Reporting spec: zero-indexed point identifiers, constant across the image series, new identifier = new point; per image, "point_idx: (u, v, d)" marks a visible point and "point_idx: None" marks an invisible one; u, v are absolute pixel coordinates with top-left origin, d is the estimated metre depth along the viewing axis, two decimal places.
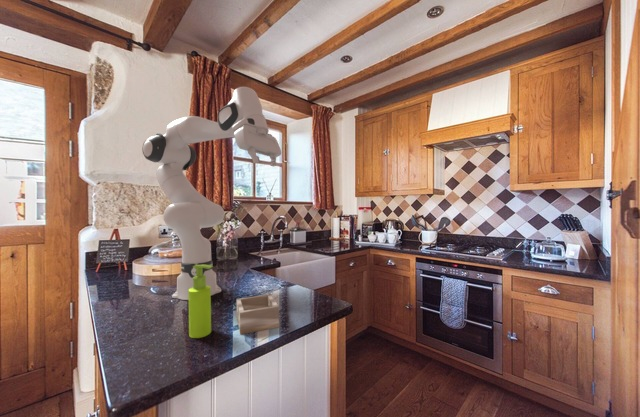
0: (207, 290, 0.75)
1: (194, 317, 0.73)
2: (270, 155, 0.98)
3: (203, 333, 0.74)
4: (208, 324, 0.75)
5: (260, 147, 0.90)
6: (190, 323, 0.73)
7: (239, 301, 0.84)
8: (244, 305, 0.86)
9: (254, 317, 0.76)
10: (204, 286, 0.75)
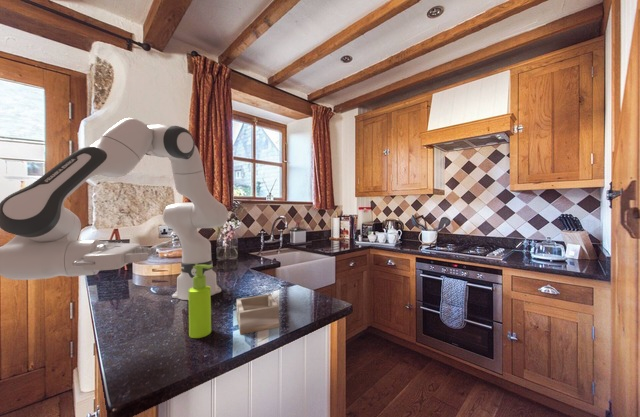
0: (207, 290, 0.75)
1: (194, 317, 0.73)
2: None
3: (203, 333, 0.74)
4: (208, 324, 0.75)
5: None
6: (190, 323, 0.73)
7: (239, 301, 0.84)
8: (244, 305, 0.86)
9: (254, 317, 0.76)
10: (204, 286, 0.75)
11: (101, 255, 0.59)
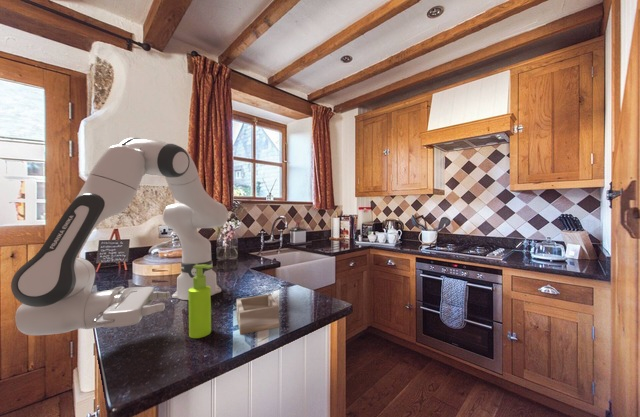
0: (207, 290, 0.75)
1: (194, 317, 0.73)
2: None
3: (203, 333, 0.74)
4: (208, 324, 0.75)
5: None
6: (190, 323, 0.73)
7: (239, 301, 0.84)
8: (244, 305, 0.86)
9: (254, 317, 0.76)
10: (204, 286, 0.75)
11: (120, 312, 0.61)
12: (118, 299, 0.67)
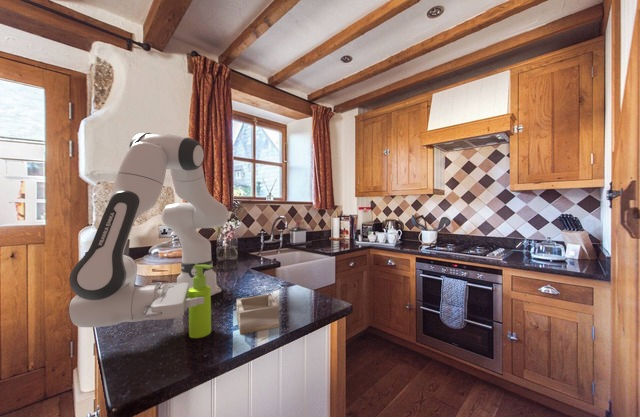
0: (207, 290, 0.75)
1: (194, 317, 0.73)
2: None
3: (203, 333, 0.74)
4: (208, 324, 0.75)
5: None
6: (190, 323, 0.73)
7: (239, 301, 0.84)
8: (244, 305, 0.86)
9: (254, 317, 0.76)
10: (204, 286, 0.75)
11: (167, 305, 0.64)
12: (161, 293, 0.70)
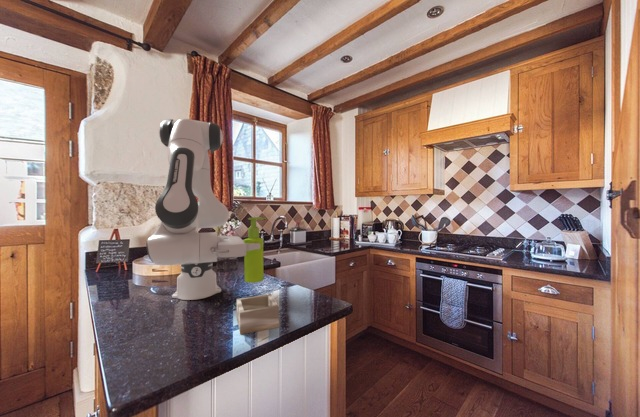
0: (261, 240, 0.81)
1: (251, 263, 0.79)
2: None
3: (258, 278, 0.80)
4: (262, 271, 0.82)
5: None
6: (246, 269, 0.80)
7: (239, 301, 0.84)
8: (244, 305, 0.86)
9: (254, 317, 0.76)
10: (258, 236, 0.82)
11: (233, 244, 0.71)
12: (222, 239, 0.77)
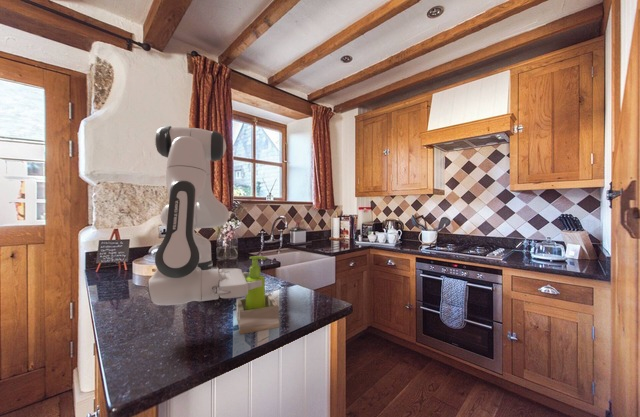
0: (263, 279, 0.81)
1: (252, 304, 0.79)
2: None
3: None
4: None
5: None
6: None
7: (239, 301, 0.84)
8: (244, 305, 0.86)
9: (254, 317, 0.76)
10: (259, 276, 0.82)
11: (234, 285, 0.71)
12: (223, 276, 0.77)
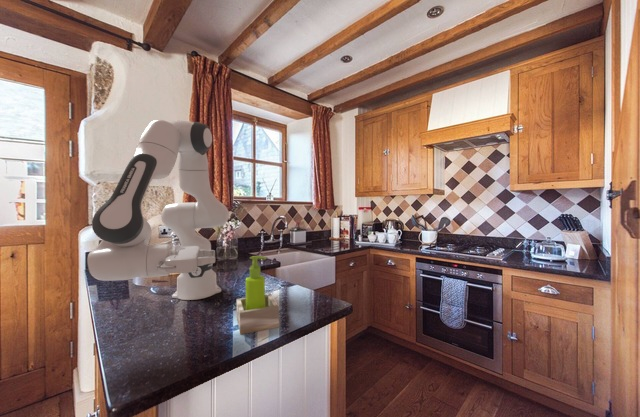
0: (263, 279, 0.81)
1: (252, 304, 0.79)
2: None
3: None
4: None
5: None
6: None
7: (239, 301, 0.84)
8: (244, 305, 0.86)
9: (254, 317, 0.76)
10: (259, 276, 0.81)
11: (180, 260, 0.66)
12: (173, 251, 0.72)
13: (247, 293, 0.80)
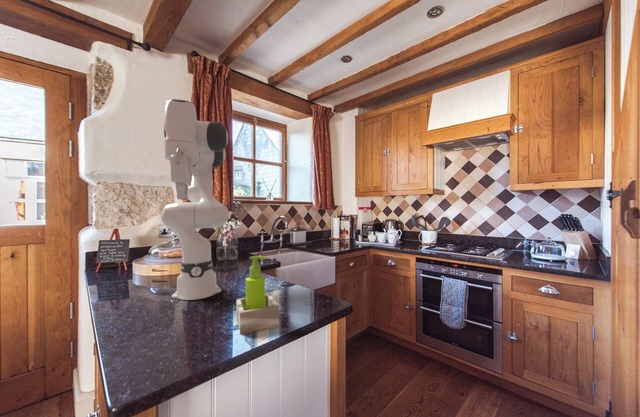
0: (263, 279, 0.81)
1: (252, 304, 0.79)
2: None
3: None
4: None
5: None
6: None
7: (239, 301, 0.84)
8: (244, 305, 0.86)
9: (254, 317, 0.76)
10: (259, 276, 0.82)
11: (185, 168, 0.70)
12: (190, 163, 0.77)
13: (247, 293, 0.80)
